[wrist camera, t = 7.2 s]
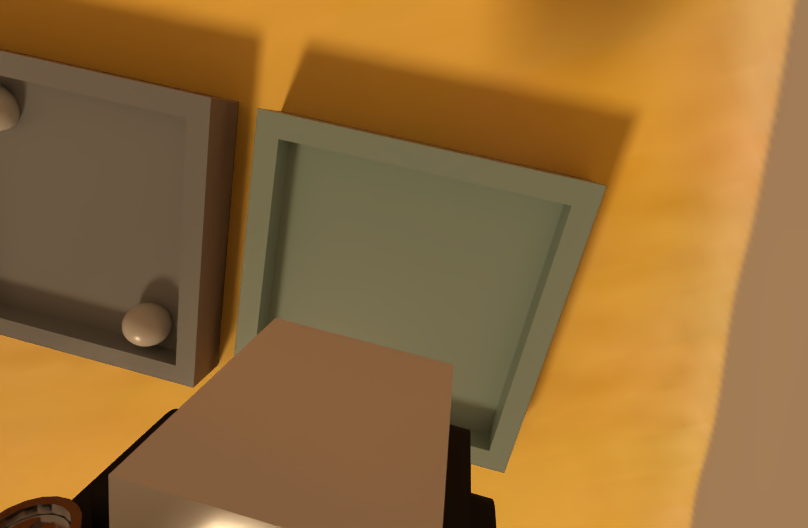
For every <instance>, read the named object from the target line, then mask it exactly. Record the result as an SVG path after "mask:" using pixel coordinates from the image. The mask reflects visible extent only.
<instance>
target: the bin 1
mask: <svg viewBox="0 0 808 528" xmlns="http://www.w3.org/2000/svg"><path fill="white" fill-rule="evenodd" d="M238 103H239V102H236V101H232V100H227V99H223V98H218V97H214V96H209V95H205V94H200V93H196V92H191V91H187V90H182V89H178V88H173V87H169V86H164V85H160V84H155V83H151V82H146V81H142V80H137V79H133V78H128V77H124V76H119V75H115V74H110V73H106V72H102V71H97V70H93V69H88V68H84V67H79V66H75V65H70V64H66V63H61V62H57V61H52V60H48V59H43V58H39V57H34V56H30V55H25V54H21V53H16V52H12V51H7V50H3V49H0V335H4V336H7V337H11V338H15V339H18V340H22V341H26V342H29V343H33V344H37V345H40V346H44V347H48V348H51V349H55V350H58V351H62V352H66V353H69V354H73V355H77V356H80V357H84V358H88V359H91V360H95V361H98V362H102V363H106V364H109V365H113V366H117V367H120V368H124V369H128V370H131V371H135V372H138V373H142V374H146V375H149V376H153V377H157V378H160V379H164V380H168V381H171V382H175V383H178V384H182V385H186V386H189V387H195V386H196V385H197V384H198V383H199V382H200V381H201V380H202V379H203V378H204V377H205V376H206V375H208V374H209V373H210V372H211V371H212V370H213V369H214V368H215V367H216V366H217V365H218V352H219V340H220V327H221V315H222V302H223V290H224V277H225V265H226V252H227V240H228V228H229V215H230V203H231V190H232V178H233V165H234V153H235V140H236V128H237V115H238Z"/></svg>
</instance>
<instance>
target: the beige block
mask: <svg viewBox="0 0 808 528" xmlns="http://www.w3.org/2000/svg"><path fill="white" fill-rule="evenodd" d="M453 367H454V365H453V364H449V363H445V362H441V361H438V360H434V359H430V358H426V357H422V356H419V355H415V354H411V353H407V352H403V351H400V350H396V349H392V348H388V347H384V346H381V345H377V344H373V343H369V342H365V341H362V340H358V339H354V338H350V337H346V336H343V335H339V334H335V333H331V332H327V331H324V330H320V329H316V328H312V327H308V326H305V325H301V324H297V323H293V322H289V321H286V320H282V319H278V318H275V319H274V320H273V321H272V322H271V323H270V324H268V325H267V326H266V327H265V328H264V329H263V330H262V331H261V332H260V333H259V334H258V335H257V336H256V337H255V338H254V339H252V340H251V341H250V342H249V343H248V344H247V345H246V346H245V347H244V348H243V349H242V350H241V351H240V352H239V353H238V354H237V355H235V356H234V357H233V358H232V359H231V360H230V361H229V362H228V363H227V364H226V365H225V366H224V367H223V368H222V369H221V370H220V371H218V372H217V373H216V374H215V375H214V376H213V377H212V378H211V379H210V380H209V381H208V382H207V383H206V384H205V385H204V386H202V387H201V388H200V389H199V390H198V391H197V392H196V393H195V394H194V395H193V396H192V397H191V398H190V399H189V400H188V401H187V402H185V403H184V404H183V405H182V406H181V407H180V408H179V409H178V410H177V411H176V412H175V413H174V414H173V415H172V416H171V417H170V418H168V419H167V420H166V421H165V422H164V423H163V424H162V425H161V426H160V427H159V428H158V429H157V430H156V431H155V432H154V433H152V434H151V435H150V436H149V437H148V438H147V439H146V440H145V441H144V442H143V443H142V444H141V445H140V446H139V447H138V448H137V449H135V450H134V451H133V452H132V453H131V454H130V455H129V456H128V457H127V458H126V459H125V460H124V461H123V462H122V463H121V464H120V465H118V466H117V467H116V468H115V469H114V470H113V471H112V472H111V473H110V474H109V475H108V480H109V528H443V514H444V499H445V485H446V470H447V455H448V440H449V426H450V411H451V396H452V381H453Z"/></svg>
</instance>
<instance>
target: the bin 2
mask: <svg viewBox="0 0 808 528" xmlns="http://www.w3.org/2000/svg"><path fill="white" fill-rule="evenodd" d="M606 187H607V186H605V185H602V184H599V183H596V182H593V181H591V180H586V179H582V178H577V177H573V176H568V175H564V174H559V173H555V172H550V171H546V170H541V169H537V168H532V167H528V166H523V165H519V164H514V163H510V162H505V161H501V160H496V159H492V158H487V157H483V156H478V155H474V154H469V153H465V152H461V151H456V150H452V149H447V148H443V147H438V146H434V145H429V144H425V143H420V142H416V141H411V140H407V139H402V138H398V137H393V136H389V135H384V134H380V133H375V132H371V131H366V130H362V129H357V128H353V127H348V126H344V125H339V124H335V123H330V122H326V121H321V120H317V119H312V118H308V117H303V116H299V115H294V114H290V113H285V112H281V111H274V110H267V109H260V108H258V109H257V120H256V131H255V141H254V152H253V163H252V173H251V184H250V195H249V205H248V216H247V227H246V237H245V248H244V258H243V269H242V280H241V290H240V301H239V312H238V322H237V333H236V344H235V354H234V356H235V355H237V354H238V353H239V352H240V351H241V350H242V349H243V348H244V347H245V346H246V345H247V344H248V343H249V342H250V341H251V340H252V339H254V338H255V337H256V336H257V335H258V334H259V333H260V332H261V331H262V330H263V329H264V328H265V327H266V326H267V325H268V324H270V323H271V322H272V321H273V320H274V319H275V318H278V319H282V320H286V321H289V322H293V323H297V324H301V325H305V326H308V327H312V328H316V329H320V330H324V331H327V332H331V333H335V334H339V335H343V336H346V337H350V338H354V339H358V340H362V341H365V342H369V343H373V344H377V345H381V346H384V347H388V348H392V349H396V350H400V351H403V352H407V353H411V354H415V355H419V356H422V357H426V358H430V359H434V360H438V361H441V362H445V363H449V364H453V365H454V367H453V381H452V396H451V411H450V424H451V425H455V426H458V427H462V428H466V429H469V430H470V433H471V464H473V465H477V466H480V467H484V468H488V469H491V470H495V471H499V472H502V473H504V472H505V469H506V467H507V464H508V461H509V458H510V455H511V453H512V450H513V447H514V444H515V441H516V439H517V436H518V433H519V430H520V427H521V425H522V422H523V419H524V416H525V413H526V411H527V408H528V405H529V402H530V399H531V397H532V394H533V391H534V388H535V385H536V383H537V380H538V377H539V374H540V371H541V369H542V366H543V363H544V360H545V357H546V355H547V352H548V349H549V346H550V344H551V341H552V338H553V335H554V332H555V330H556V327H557V324H558V321H559V318H560V316H561V313H562V310H563V307H564V304H565V302H566V299H567V296H568V293H569V290H570V288H571V285H572V282H573V279H574V276H575V274H576V271H577V268H578V265H579V262H580V260H581V257H582V254H583V251H584V248H585V246H586V243H587V240H588V237H589V234H590V232H591V229H592V226H593V223H594V220H595V218H596V215H597V212H598V209H599V206H600V204H601V201H602V198H603V195H604V192H605V190H606Z"/></svg>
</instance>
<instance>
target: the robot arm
mask: <svg viewBox="0 0 808 528" xmlns="http://www.w3.org/2000/svg"><path fill="white" fill-rule="evenodd" d="M177 410H178V409H173V410H171V411H169V412H168V413H167V414H165V415H164V416H163V417H162V418H161V419H160V420H159V421H158V422H157V423H155V424H154V425H153V426H152V427H151V428H150V429H149V430H148V431H147V432H146V433H145V434H143V435H142V436H141V437H140V438H139V439H138V440H137V441H136V442H135V443H134V444H133V445H131V446H130V447H129V448H128V449H127V450H126V451H125V452H124V453H123V454H122V455H121V456H119V457H118V458H117V459H116V460H115V461H114V462H113V463H112V464H111V465H110V466H109V467H107V468H106V469H105V470H104V471H103V472H102V473H101V474H100V475H99V476H98V477H97V478H95V479H94V480H93V481H92V482H91V483H90V484H89V485H88V486H87V487H86V488H85V489H83V490H82V491H81V492H80V493H79V494H78V495H77V496H76V497H75V498H74V499H73V500H70V499H67V498H62V497H58V496H54V497H40V498H36V499H31V500H27V501H24V502H22V503H19V504H17V505H14V506H12V507H10V508H7V509H6V510H4V511H3V512H1V513H0V528H109V480H108V475H109V474H110V473H111V472H112V471H113V470H114V469H115V468H116V467H117V466H118V465H120V464H121V463H122V462H123V461H124V460H125V459H126V458H127V457H128V456H129V455H130V454H131V453H132V452H133V451H134V450H135V449H137V448H138V447H139V446H140V445H141V444H142V443H143V442H144V441H145V440H146V439H147V438H148V437H149V436H150V435H151V434H152V433H154V432H155V431H156V430H157V429H158V428H159V427H160V426H161V425H162V424H163V423H164V422H165V421H166V420H167V419H168V418H170V417H171V416H172V415H173V414H174V413H175V412H176V411H177ZM443 528H496V517H495V506H494V501H493V499H491V498H487V497H484V496H480V495H477V494H473V493H471V433H470V430H469V429H466V428H462V427H458V426H455V425H451V424H450V426H449V440H448V455H447V470H446V485H445V499H444V514H443Z"/></svg>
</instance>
